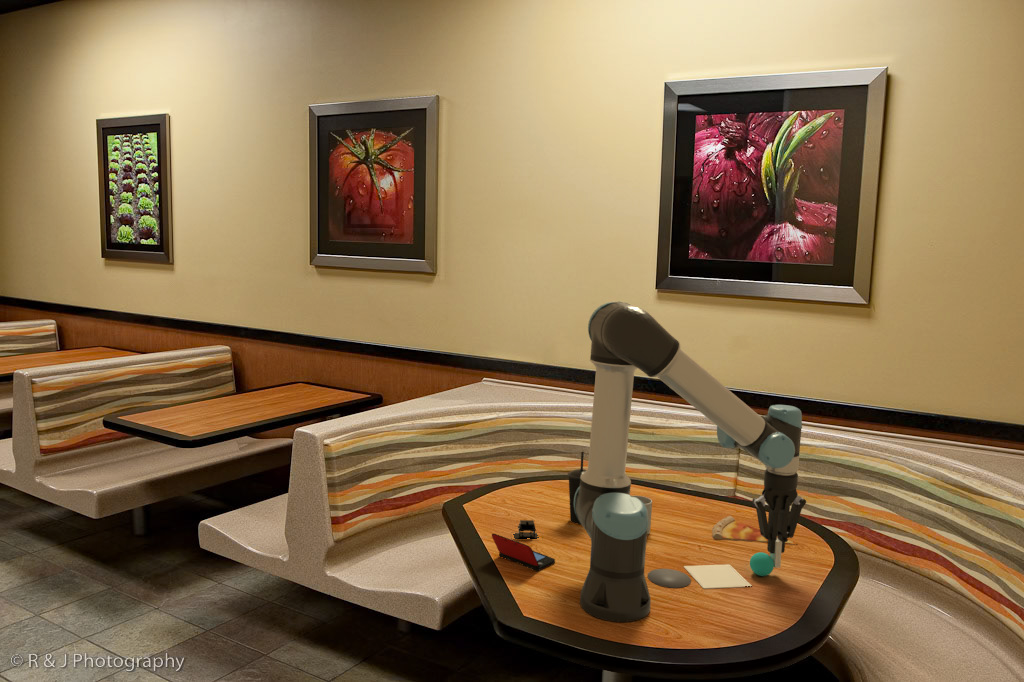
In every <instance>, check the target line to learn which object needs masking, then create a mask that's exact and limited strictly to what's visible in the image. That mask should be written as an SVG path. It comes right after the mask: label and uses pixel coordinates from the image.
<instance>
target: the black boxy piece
mask: <svg viewBox="0 0 1024 682" xmlns="http://www.w3.org/2000/svg"><path fill="white" fill-rule="evenodd" d="M534 521H535V520H533V519H532V520H531V519H529V520H528V519H526V520H525V519H524V520H523V519H521V520H519V523H518V526H517V529H518V532H514V533H515V534H513V535H514V538H515V539H527V538H530V539H537V538H539V537H537V536H538V535H537V533H538V532H537V529H536V524H535V522H534ZM529 531H530V532H529Z"/></svg>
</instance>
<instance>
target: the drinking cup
mask: <svg viewBox="0 0 1024 682" xmlns="http://www.w3.org/2000/svg"><path fill="white" fill-rule="evenodd" d="M584 454H585V453H584V451H581V454H580V468H575V469H573V470H570V471H568V472H567V476H568V495H569V516H570V517H569V520H571V521H572V522H573V524H575V523H578V524H577V525H582V524H581V523H580V522H579V520H578V518H577V516H576V514H575V510H574V496H575V493H576V491H577V489H578V487H579V486H580V477H581V474H583V473H584V472H585V471H586V470H587V469H584V459H585V458H584ZM571 521H570V522H571ZM572 522H571V523H572Z"/></svg>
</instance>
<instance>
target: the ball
mask: <svg viewBox="0 0 1024 682" xmlns="http://www.w3.org/2000/svg"><path fill="white" fill-rule="evenodd" d="M749 568H750V569H751V571H752V572H753V573H754V574H756V575H757V576H759V577H766V576H768V575H770V574H771V573H772V572H773V570H774V568H775V567H774V563H773V560H772V558H771V557H770V554H768V553H766V552H762V551H760V552H756V553H754V554H753V555H752V556H751V558H750V559H749Z"/></svg>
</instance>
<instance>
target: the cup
mask: <svg viewBox="0 0 1024 682" xmlns="http://www.w3.org/2000/svg"><path fill="white" fill-rule="evenodd" d="M631 496H632V497H636V498H638V499H639V500H641V501H642V502H643V503H644V504H645V506H646V508H647V513H648V528H647V534H648V535H649V534H650V532H651V525H652V512H653V511H652V510H653V500H652V499H651V498H649V497H647V496H643V495H631Z"/></svg>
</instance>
